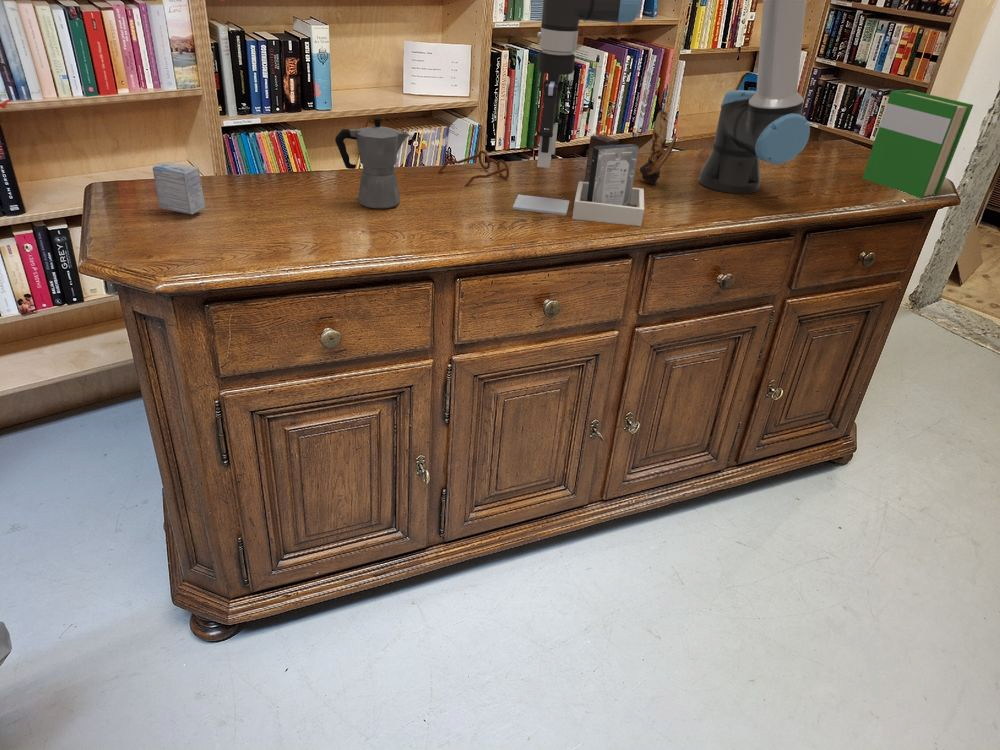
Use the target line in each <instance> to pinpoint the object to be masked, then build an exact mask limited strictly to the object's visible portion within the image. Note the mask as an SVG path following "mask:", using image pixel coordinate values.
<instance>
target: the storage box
mask: <svg viewBox="0 0 1000 750" xmlns="http://www.w3.org/2000/svg"><path fill="white" fill-rule="evenodd" d="M588 186H589V182H584V181H581V180H580V181H578V185H577V188H576V194H575V199H574V202H573V203H574V204H573V212H572V220H578V221H586V222H587V221H588V222H596V223H597V222H598V223H607V224H614V225H615V224H617V225H624V226H625V225H627V226H635V227H636V226H637V227H642V225H643V220H644V213H645V193H644V192H645V191H644V190H645V189H644V188H640V187H633V188H632V194H631V200H630V206H621V205H613V204H604V203H596V202H587V194H588ZM635 206H636V207H635Z"/></svg>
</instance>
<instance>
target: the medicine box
mask: <svg viewBox="0 0 1000 750" xmlns="http://www.w3.org/2000/svg"><path fill="white" fill-rule="evenodd" d="M152 174H153V178H154V184H155V189H156V194H157V201H158V207H159V209H164V210H168V211H174V212H177V213H182V214H186V215H187V214H189V215H194V214H196V213H199V212H201V211H202V210H204V209H206V205H205V204H206V203H205V199H204V192H203V186H202V179H201V175H200V167H198V166H193V165H187V164H181V163H175V162H171V161H165V162H160V163H159V164H156V165H154V166H152Z"/></svg>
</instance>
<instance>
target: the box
mask: <svg viewBox="0 0 1000 750" xmlns="http://www.w3.org/2000/svg"><path fill="white" fill-rule="evenodd" d="M606 145H620V139H617V138H613V137H610V136H607V135H604V134H594V135H590V138H589V145H588V146H589V147H588V152H587V153H588V154H587V159H586V160H587V161H586V168H585V175H584V181H583V182H589V179H590V171H591V164H592V155H593V148H594V146H606Z"/></svg>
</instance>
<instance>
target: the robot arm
mask: <svg viewBox="0 0 1000 750" xmlns="http://www.w3.org/2000/svg"><path fill="white" fill-rule="evenodd" d="M641 5H642V0H542V14H541V23H540V31H538V32H537V37H538V38H540V40H539V48H540V51H539V52H538V53H537V54H538V55H537V66H536V68H537V69H536V70H537V71H538V72H540V73H543V74H547V79H545V80H544V82H543V86H542V87H543V88H542V89H543V90H542V91H543V96H542V103H543V104H542V111H541V120H540V129H539V131H537V132H536V136H537V137H539V144H538V153H537V164H536V167H537V168H546V169H550V168H551V161H552V160H551V159H552V155H555V154H556V144H557V136H558V135H557V134H558V126H559V124H561V123H562V118H559V117H560V109H561V108H560V106H561V100H562V96H563V91H564V87H565V86H564V85H565V82H564V81H563V78H564V76H567V75H569V76H570V75H572V74H573V72H574V71H575V70H574V69H575V63H576V62H575V60H576V56H575V54H574V53H575V52H576V51H577V45H578V37H579V36H578V35H579V25H580V21H582V22H587V21H588V22H601V23H614V24H615V23H617V25H619V24H622V23H625V24H627V23H629V24H631V23H632V22H634V21H635V20H636V19H637V17H638V15H639V13H640V10H641ZM806 7H807V0H762V10H761V11H762V14H761V25H760V38H759V40H760V41H759V51H758V52H759V53H758V66H757V67H758V68H757V79H756V90H742V89H737V90H736V89H733V90H728V91H726V93H725V94H724V96H723V99H722V102H721V105H720V108H721V109H720V111H719V117H718V121H717V126H716V130H715V136H714V140H713V145H712V150H711V153H710V154H709V156H708V158H707V159H706V161H705V163H704V164H703V166H702V169H701V170H700V172H699V176H698V177H699V178H698V183H700V184H701V185H702V186H704V187H706V188H709V189H711V190H714V191H717V192H718V191H719V192H722V193H723V192H724V193H727V194H738V195H743V194H745V195H746V194H747V193H748V194H753V193H752V192H754V193H756V192H758V191H759V190H760V186H761V185H760V184H761V167H760V160H761V161H763V162H767V163H770V164H773V165H781V164H784V163H787V162H789V161H791V160H793V159H795V158H796V157H797V156H798V155H799V154H800V153H801V152H802V151H803V150H804V149H805V147H806V145H807V143H808V141H809V138H810V134H811V128H810V127H811V125H810V123H809V121H808V120H807V118H806V117H805V116H804V115H803V106H804V97H803V96H802V95H801V94H800V93H799V92H798V86H799V85H798V84H799V76H800V75H799V74H800V67H801V66H800V65H801V57H802V47H803V36H804V26H805V15H806V9H807V8H806ZM757 190H758V191H757Z"/></svg>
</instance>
